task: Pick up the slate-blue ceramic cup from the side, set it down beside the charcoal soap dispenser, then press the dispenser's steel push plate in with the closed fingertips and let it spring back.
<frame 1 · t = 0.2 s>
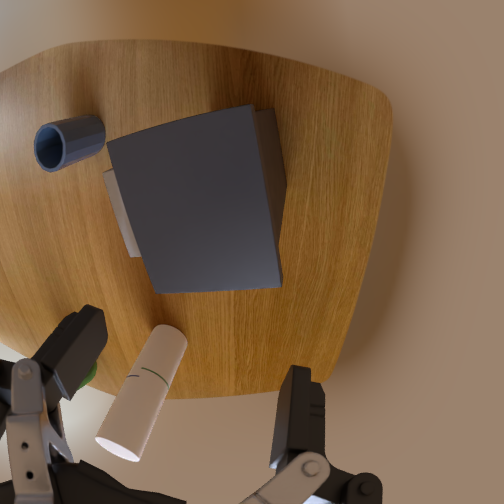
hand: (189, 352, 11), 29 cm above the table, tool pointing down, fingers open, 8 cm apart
cup: (89, 135, 37), on the table
fruit: (90, 352, 63), on the table
cylindrical container: (170, 337, 54), on the table
dispenser: (248, 152, 36), on the table
push plate: (141, 201, 23), point 16 cm above the table, slide at -0.1 cm
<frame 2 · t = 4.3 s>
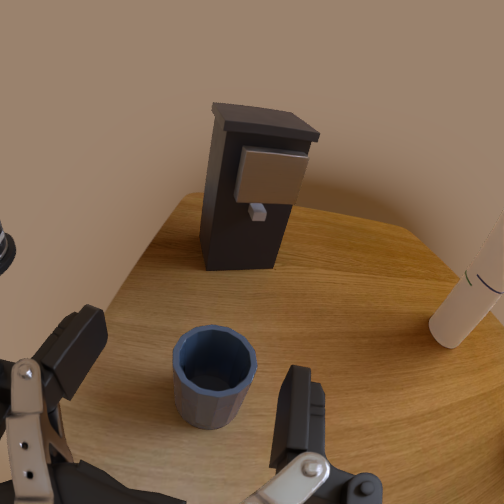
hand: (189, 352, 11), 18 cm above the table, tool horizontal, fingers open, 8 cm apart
cup: (207, 401, 27), on the table
cylindrical container: (444, 332, 40), on the table
dispenser: (234, 251, 46), on the table
push plate: (270, 176, 31), point 16 cm above the table, slide at -0.1 cm
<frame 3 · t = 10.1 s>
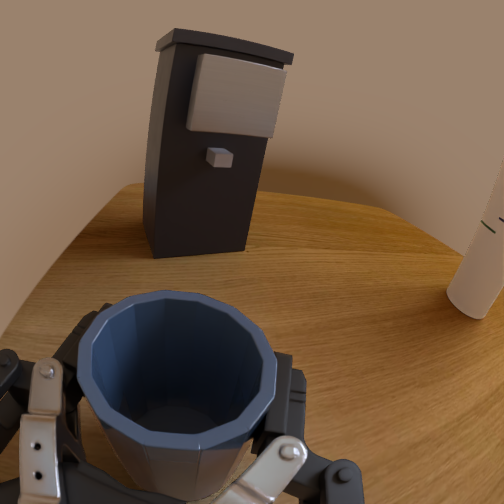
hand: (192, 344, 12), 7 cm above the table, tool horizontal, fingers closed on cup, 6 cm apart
cup: (177, 450, 13), on the table, touching gripper
cylindrical container: (465, 303, 32), on the table
dispenser: (190, 235, 34), on the table
push plate: (236, 96, 21), point 16 cm above the table, slide at -0.1 cm
when the fingers open (7 cm above the table, at t = 21.2 s): cup stays where it is, on the table.
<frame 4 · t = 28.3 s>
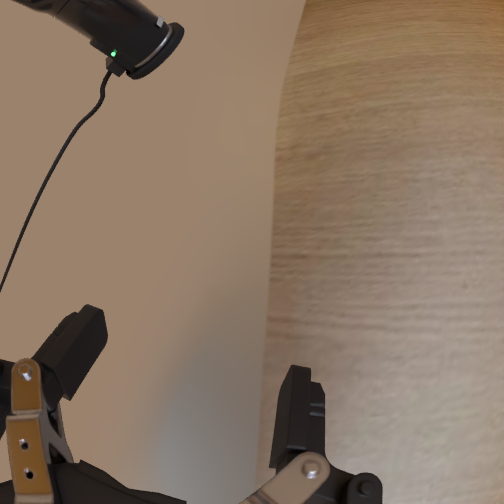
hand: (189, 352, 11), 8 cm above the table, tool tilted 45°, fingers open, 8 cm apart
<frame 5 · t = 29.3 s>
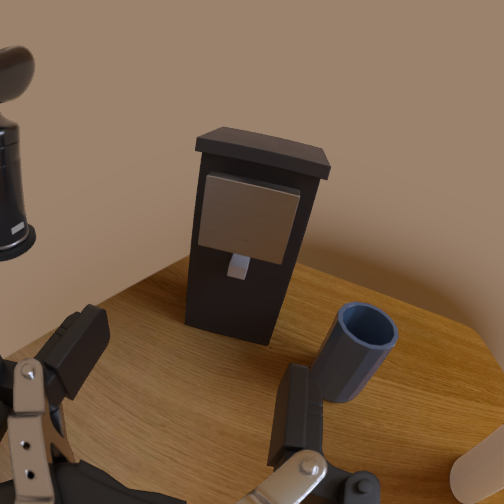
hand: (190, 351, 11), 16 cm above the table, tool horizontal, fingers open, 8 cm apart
cup: (334, 379, 30), on the table
cylindrical container: (469, 479, 18), on the table
dispenser: (232, 313, 37), on the table
push plate: (247, 217, 23), point 16 cm above the table, slide at -0.1 cm
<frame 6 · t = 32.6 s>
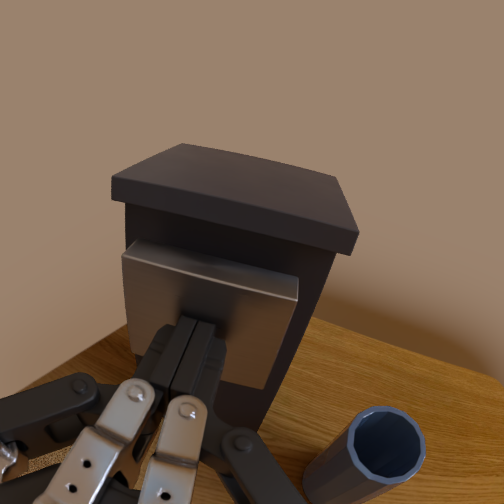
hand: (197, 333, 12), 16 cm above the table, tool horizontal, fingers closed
cup: (335, 481, 20), on the table
dispenser: (207, 394, 26), on the table
push plate: (203, 321, 13), point 16 cm above the table, slide at 0.2 cm, touching gripper
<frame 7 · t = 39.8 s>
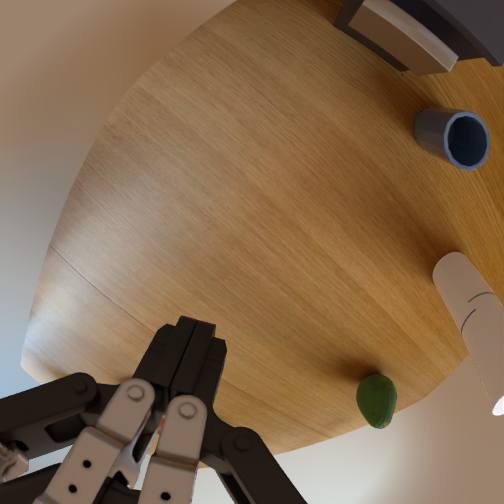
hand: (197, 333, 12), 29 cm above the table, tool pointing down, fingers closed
cup: (434, 130, 31), on the table
fruit: (373, 376, 53), on the table
cylindrical container: (450, 270, 40), on the table
dispenser: (382, 26, 26), on the table
push plate: (399, 36, 15), point 16 cm above the table, slide at -0.1 cm
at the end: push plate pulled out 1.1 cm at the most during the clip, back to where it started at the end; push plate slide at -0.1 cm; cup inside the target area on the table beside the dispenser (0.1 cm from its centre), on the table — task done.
